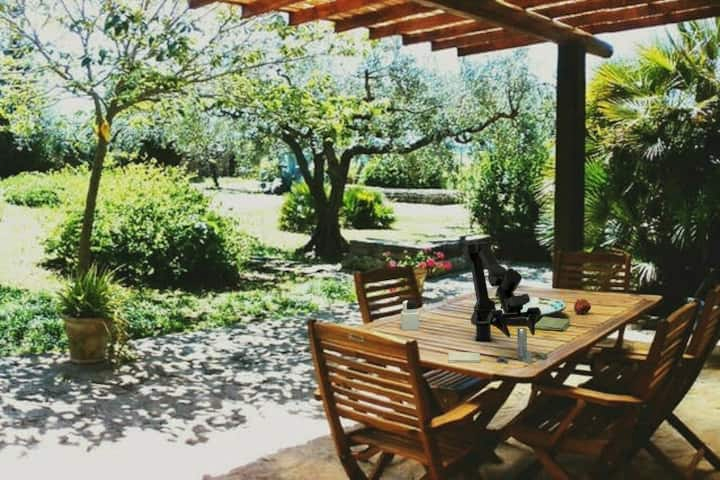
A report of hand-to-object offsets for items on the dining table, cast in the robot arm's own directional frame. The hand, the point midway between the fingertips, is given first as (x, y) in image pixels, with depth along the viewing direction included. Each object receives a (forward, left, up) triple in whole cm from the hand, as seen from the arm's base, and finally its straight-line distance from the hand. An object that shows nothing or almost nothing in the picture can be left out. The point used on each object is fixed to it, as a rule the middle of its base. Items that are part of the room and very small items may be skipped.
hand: (521, 335), depth 252 cm
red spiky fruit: (-84, +35, -9) cm, 91 cm away
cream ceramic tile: (-1, -20, -8) cm, 22 cm away
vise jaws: (0, 0, -8) cm, 8 cm away
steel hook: (+2, +1, -8) cm, 9 cm away
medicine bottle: (-51, -42, -9) cm, 66 cm away
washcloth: (-56, +18, -9) cm, 59 cm away
